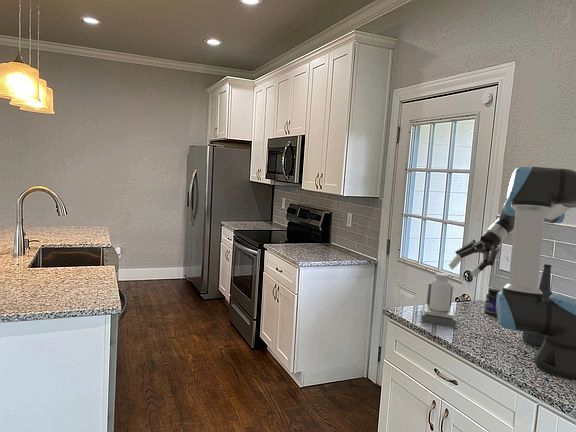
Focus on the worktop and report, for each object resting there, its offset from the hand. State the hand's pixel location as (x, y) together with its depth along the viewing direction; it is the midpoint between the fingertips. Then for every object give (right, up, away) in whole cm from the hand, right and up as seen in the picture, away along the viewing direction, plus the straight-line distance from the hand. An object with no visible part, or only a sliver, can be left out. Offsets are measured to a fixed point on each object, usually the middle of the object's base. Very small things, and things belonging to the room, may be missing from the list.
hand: (461, 270), depth 185 cm
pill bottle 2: (+19, -21, +14) cm, 32 cm away
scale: (-10, -20, +1) cm, 22 cm away
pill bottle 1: (-10, -16, -1) cm, 19 cm away
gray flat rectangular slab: (-10, -17, -1) cm, 20 cm away
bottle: (+20, -25, -21) cm, 38 cm away
